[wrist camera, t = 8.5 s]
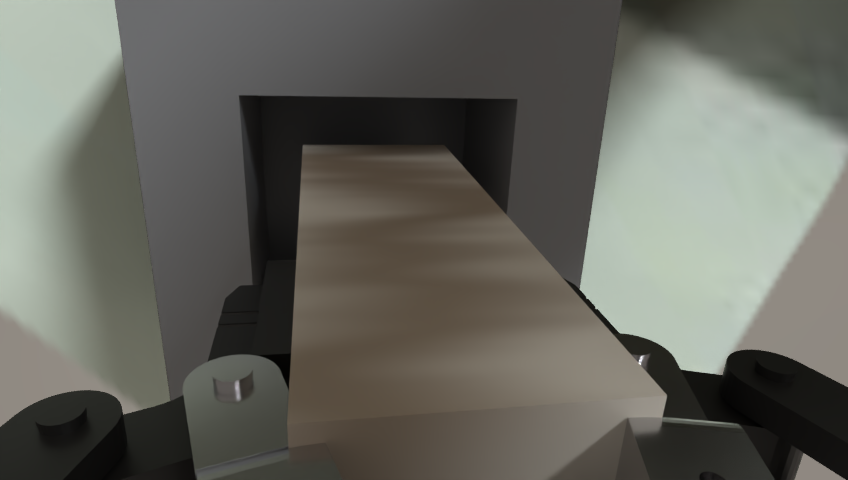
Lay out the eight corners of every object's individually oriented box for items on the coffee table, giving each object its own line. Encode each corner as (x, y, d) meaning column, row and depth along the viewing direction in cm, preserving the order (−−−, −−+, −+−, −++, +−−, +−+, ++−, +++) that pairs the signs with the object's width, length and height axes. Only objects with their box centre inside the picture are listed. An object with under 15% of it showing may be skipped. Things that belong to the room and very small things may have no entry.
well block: (537, -2, 21) (622, -1, 15) (507, 305, 25) (563, 396, 20) (172, -18, 19) (111, -23, 13) (208, 319, 23) (173, 425, 18)
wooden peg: (444, 144, 18) (667, 394, 7) (437, 271, 19) (609, 648, 8) (302, 144, 17) (287, 423, 6) (307, 275, 18) (301, 695, 7)
